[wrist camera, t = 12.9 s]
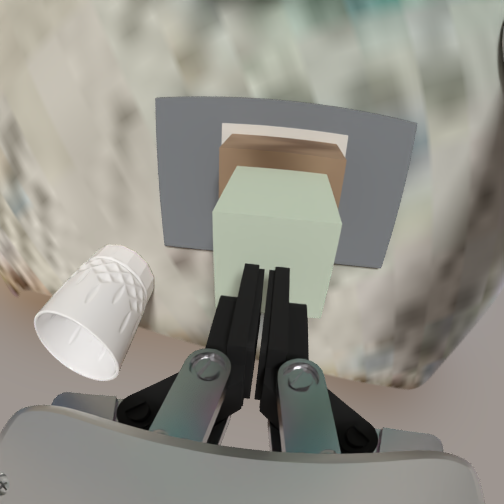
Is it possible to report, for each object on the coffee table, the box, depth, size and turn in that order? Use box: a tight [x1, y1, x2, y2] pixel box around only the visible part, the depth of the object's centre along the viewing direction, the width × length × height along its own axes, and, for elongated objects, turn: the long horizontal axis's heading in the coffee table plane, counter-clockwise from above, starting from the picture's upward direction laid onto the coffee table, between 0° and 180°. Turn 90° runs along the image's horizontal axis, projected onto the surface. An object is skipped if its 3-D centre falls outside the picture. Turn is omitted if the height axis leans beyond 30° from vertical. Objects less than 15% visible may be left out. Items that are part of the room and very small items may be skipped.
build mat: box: [155, 97, 417, 268], centre depth 22 cm, size 18×12×1 cm, turn 87°
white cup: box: [34, 244, 154, 381], centre depth 24 cm, size 8×8×10 cm
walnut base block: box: [219, 134, 347, 208], centre depth 20 cm, size 7×7×4 cm
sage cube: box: [212, 166, 342, 318], centre depth 16 cm, size 5×5×6 cm
